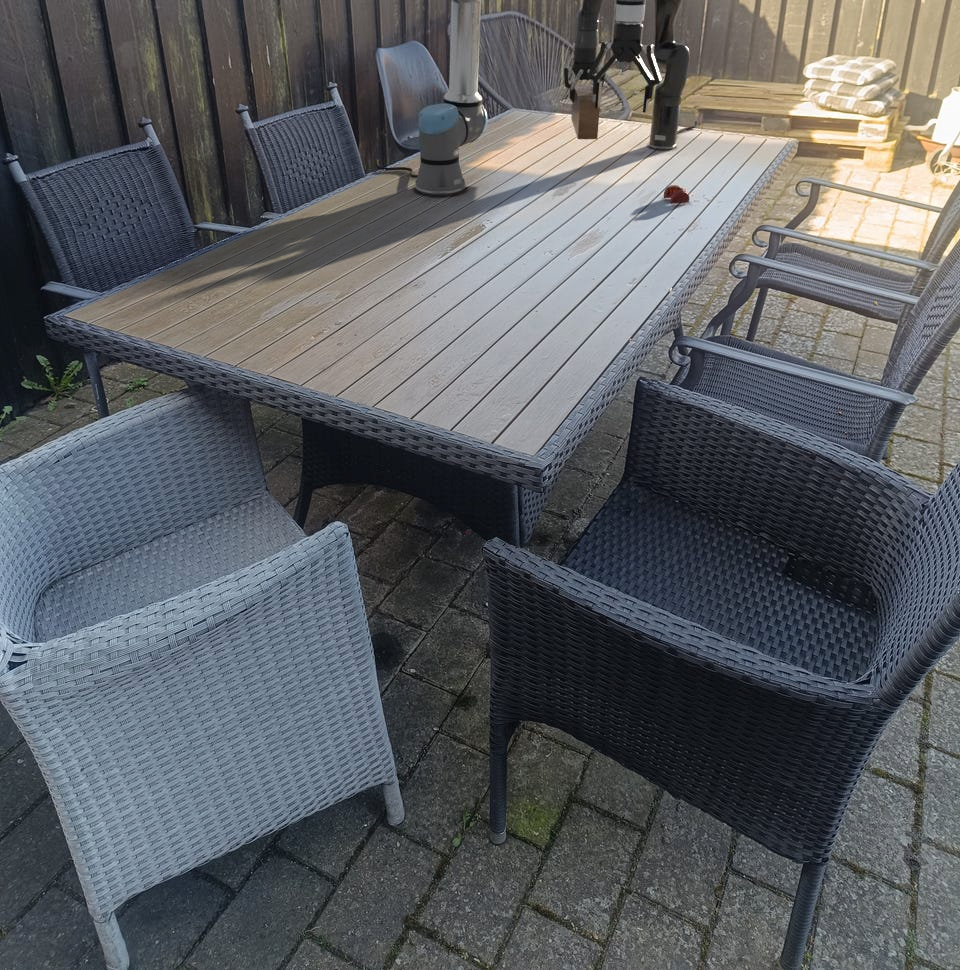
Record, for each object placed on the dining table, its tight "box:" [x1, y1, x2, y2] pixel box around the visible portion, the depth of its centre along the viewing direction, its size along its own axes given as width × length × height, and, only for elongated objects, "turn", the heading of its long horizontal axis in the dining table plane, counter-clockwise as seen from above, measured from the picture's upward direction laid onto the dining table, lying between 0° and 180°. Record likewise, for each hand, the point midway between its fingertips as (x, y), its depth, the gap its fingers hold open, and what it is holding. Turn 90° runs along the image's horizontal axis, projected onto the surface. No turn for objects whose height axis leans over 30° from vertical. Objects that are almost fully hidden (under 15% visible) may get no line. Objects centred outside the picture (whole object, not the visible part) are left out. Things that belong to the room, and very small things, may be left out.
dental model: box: [663, 184, 690, 205], centre depth 248 cm, size 6×4×8 cm
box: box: [571, 84, 601, 140], centre depth 273 cm, size 27×6×11 cm, turn 179°
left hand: (621, 109), depth 233 cm, fingers open, 13 cm apart
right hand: (582, 101), depth 280 cm, fingers closed on box, 6 cm apart
